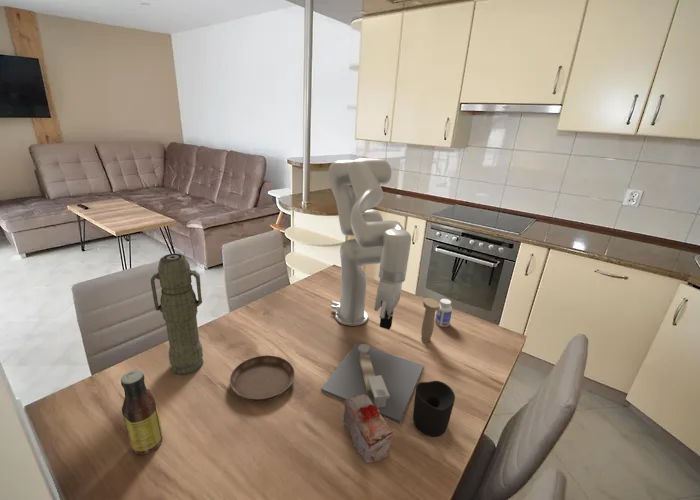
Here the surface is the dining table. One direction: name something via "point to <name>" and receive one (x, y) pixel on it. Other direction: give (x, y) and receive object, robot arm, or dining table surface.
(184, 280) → the thermos
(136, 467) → the dining table surface
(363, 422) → the food item
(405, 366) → the board
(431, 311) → the handle
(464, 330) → the dining table surface
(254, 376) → the plant saucer
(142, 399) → the sauce bottle
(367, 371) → the link
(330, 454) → the dining table surface
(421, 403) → the pen holder
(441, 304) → the pill bottle
